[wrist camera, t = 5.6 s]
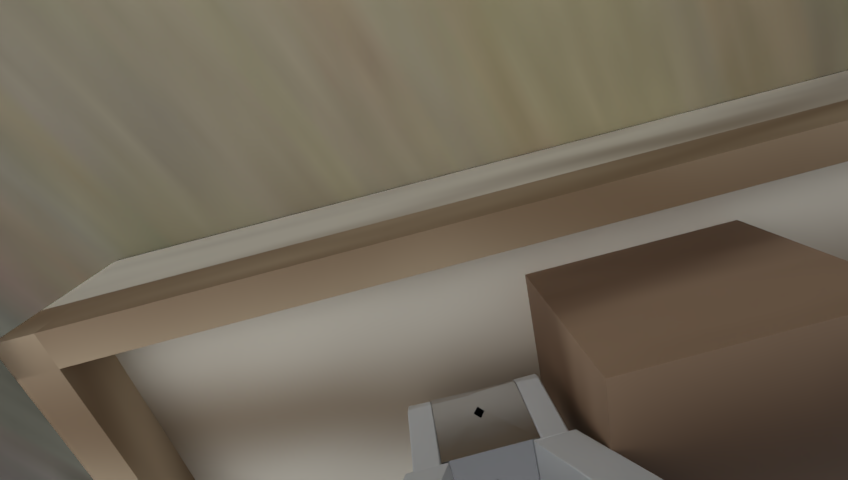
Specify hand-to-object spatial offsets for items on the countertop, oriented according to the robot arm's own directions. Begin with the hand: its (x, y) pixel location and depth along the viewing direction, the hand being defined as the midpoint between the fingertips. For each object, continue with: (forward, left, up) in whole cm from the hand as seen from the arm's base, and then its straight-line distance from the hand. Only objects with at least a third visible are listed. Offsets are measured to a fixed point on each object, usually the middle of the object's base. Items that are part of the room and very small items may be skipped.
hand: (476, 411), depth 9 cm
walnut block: (0, +4, -1) cm, 4 cm away
